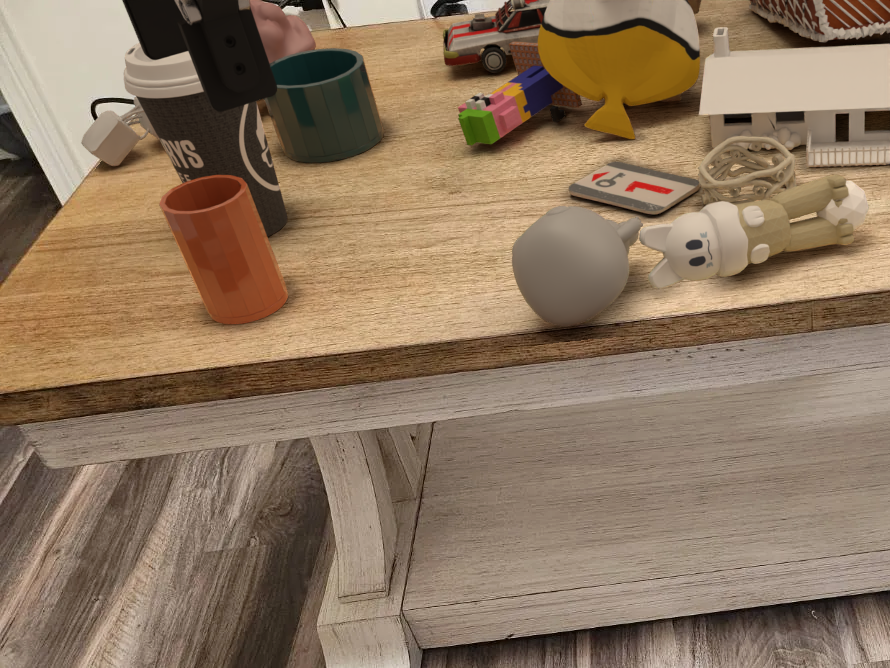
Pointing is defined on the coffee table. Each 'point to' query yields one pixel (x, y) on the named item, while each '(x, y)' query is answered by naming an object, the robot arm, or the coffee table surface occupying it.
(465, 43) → the toy car
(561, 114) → the figurine
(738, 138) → the bracelet
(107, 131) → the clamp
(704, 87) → the house
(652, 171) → the token
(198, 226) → the cup
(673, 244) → the rabbit figurine
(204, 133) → the coffee cup
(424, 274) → the coffee table surface
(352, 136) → the teal round container
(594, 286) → the figurine
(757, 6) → the gingerbread house
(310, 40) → the figurine
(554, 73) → the fish
